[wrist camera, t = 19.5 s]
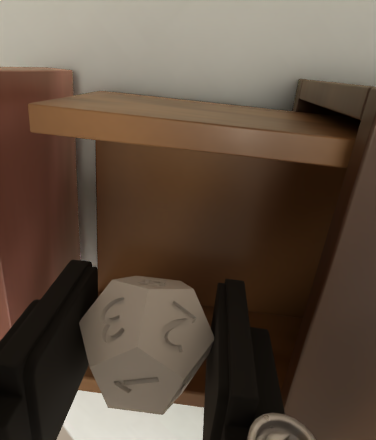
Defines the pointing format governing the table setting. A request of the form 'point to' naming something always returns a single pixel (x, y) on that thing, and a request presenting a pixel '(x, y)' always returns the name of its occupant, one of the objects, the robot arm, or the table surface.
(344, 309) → the cabinet
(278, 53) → the table surface
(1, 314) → the drawer
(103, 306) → the game die
